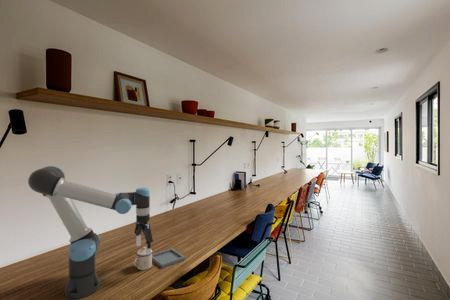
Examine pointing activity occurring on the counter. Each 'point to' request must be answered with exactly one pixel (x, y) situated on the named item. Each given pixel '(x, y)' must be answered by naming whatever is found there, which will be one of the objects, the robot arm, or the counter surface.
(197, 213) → the counter surface
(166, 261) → the cup tray
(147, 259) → the teacup with lid
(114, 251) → the counter surface
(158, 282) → the counter surface
